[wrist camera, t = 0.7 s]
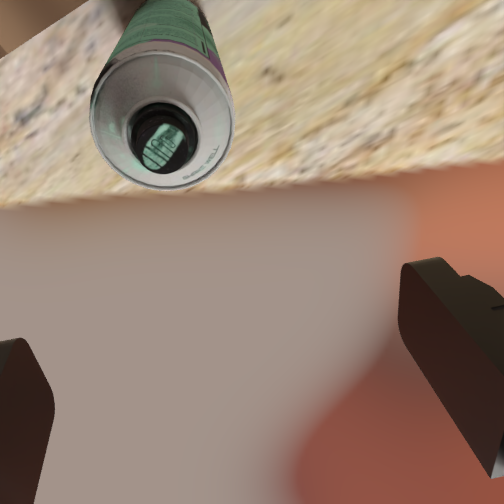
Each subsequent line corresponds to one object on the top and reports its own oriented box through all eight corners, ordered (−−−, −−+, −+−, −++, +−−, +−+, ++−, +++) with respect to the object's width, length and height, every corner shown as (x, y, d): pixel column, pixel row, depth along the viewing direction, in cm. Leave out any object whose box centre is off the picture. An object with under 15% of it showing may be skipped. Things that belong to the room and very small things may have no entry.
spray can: (128, 74, 32) (75, 217, 16) (131, -15, 30) (70, 49, 13) (206, 86, 34) (231, 230, 17) (216, 2, 31) (258, 79, 14)
